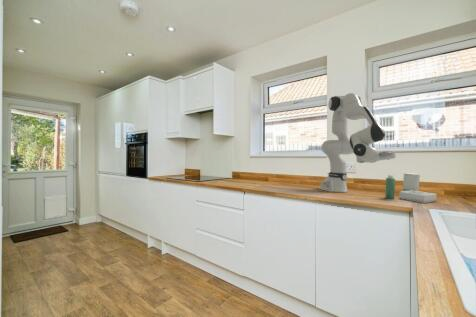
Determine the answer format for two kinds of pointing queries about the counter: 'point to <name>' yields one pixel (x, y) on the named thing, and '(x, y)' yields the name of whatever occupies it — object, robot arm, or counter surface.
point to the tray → (417, 196)
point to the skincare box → (411, 182)
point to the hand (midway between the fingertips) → (380, 159)
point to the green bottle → (390, 187)
